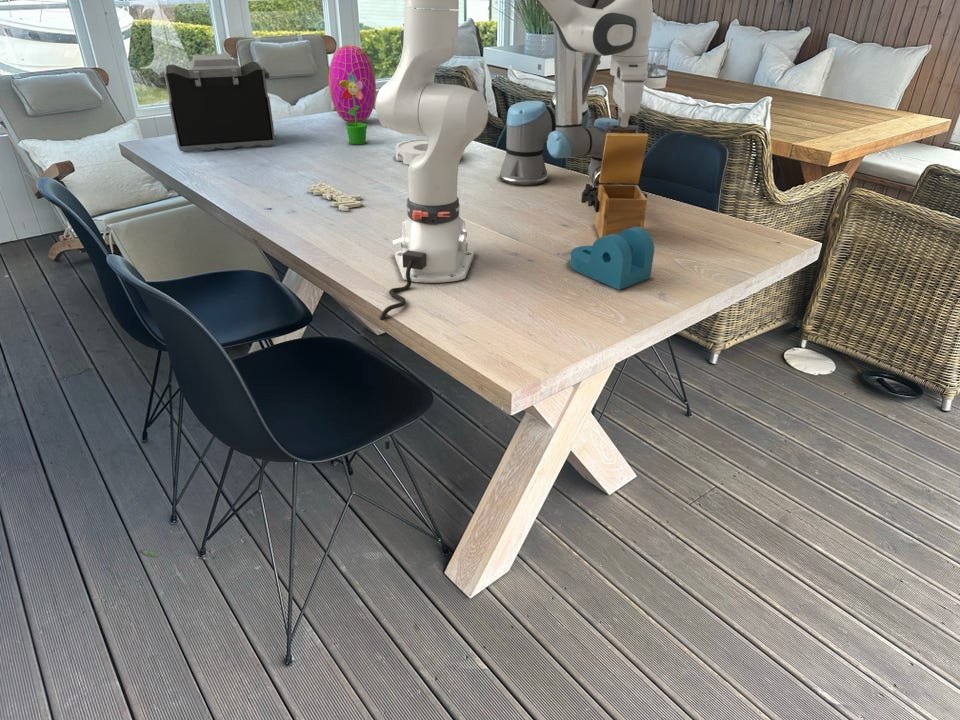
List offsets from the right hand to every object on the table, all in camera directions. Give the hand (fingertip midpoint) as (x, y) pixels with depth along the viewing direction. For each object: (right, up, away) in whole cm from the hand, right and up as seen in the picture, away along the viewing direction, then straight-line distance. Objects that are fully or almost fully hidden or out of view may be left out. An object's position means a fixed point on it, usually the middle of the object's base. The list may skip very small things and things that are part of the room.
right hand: (618, 207), depth 178 cm
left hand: (0, +20, -3) cm, 20 cm away
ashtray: (-54, +32, +66) cm, 91 cm away
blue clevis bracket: (-7, -19, -20) cm, 29 cm away
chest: (0, -7, +1) cm, 7 cm away
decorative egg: (-89, +62, +115) cm, 159 cm away
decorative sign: (-78, +9, +25) cm, 83 cm away
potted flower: (-82, +43, +84) cm, 125 cm away
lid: (0, +11, -5) cm, 12 cm away
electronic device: (-132, +42, +81) cm, 160 cm away
